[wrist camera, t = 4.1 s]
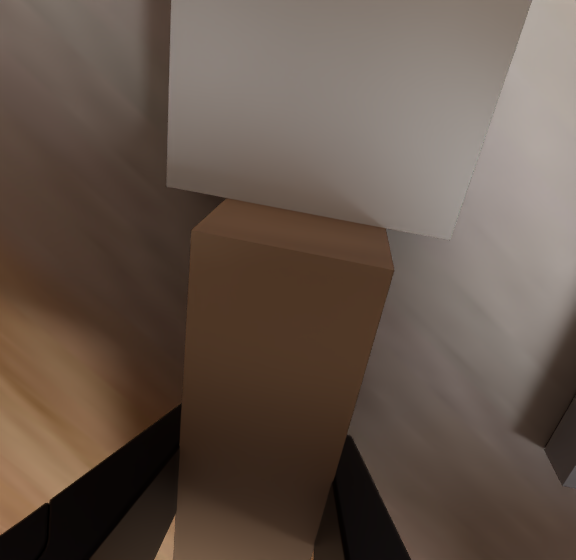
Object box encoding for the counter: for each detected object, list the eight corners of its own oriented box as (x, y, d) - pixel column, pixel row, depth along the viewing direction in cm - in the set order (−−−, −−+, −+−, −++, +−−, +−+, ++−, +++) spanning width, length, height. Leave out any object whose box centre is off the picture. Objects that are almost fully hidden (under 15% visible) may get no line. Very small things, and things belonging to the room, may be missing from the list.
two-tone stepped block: (335, 546, 12) (330, 663, 10) (170, 506, 13) (125, 610, 10) (619, -336, 5) (882, -749, 3) (212, -378, 5) (86, -780, 3)
